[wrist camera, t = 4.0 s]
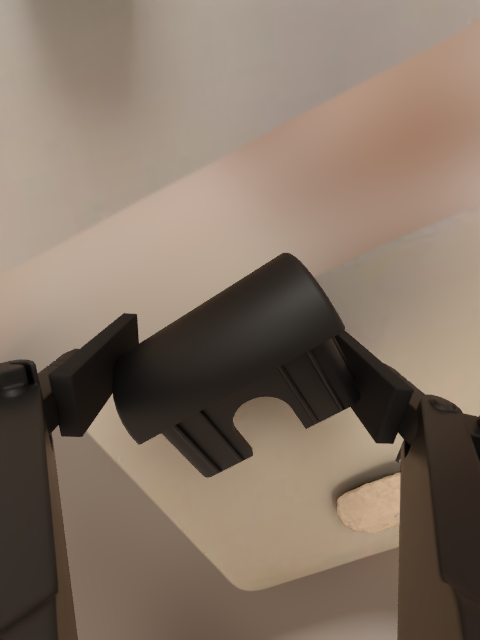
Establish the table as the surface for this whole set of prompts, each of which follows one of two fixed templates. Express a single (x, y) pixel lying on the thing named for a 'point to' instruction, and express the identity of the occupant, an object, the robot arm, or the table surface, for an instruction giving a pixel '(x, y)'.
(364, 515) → the stone
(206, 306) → the end cap
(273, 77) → the table surface
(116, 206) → the table surface
